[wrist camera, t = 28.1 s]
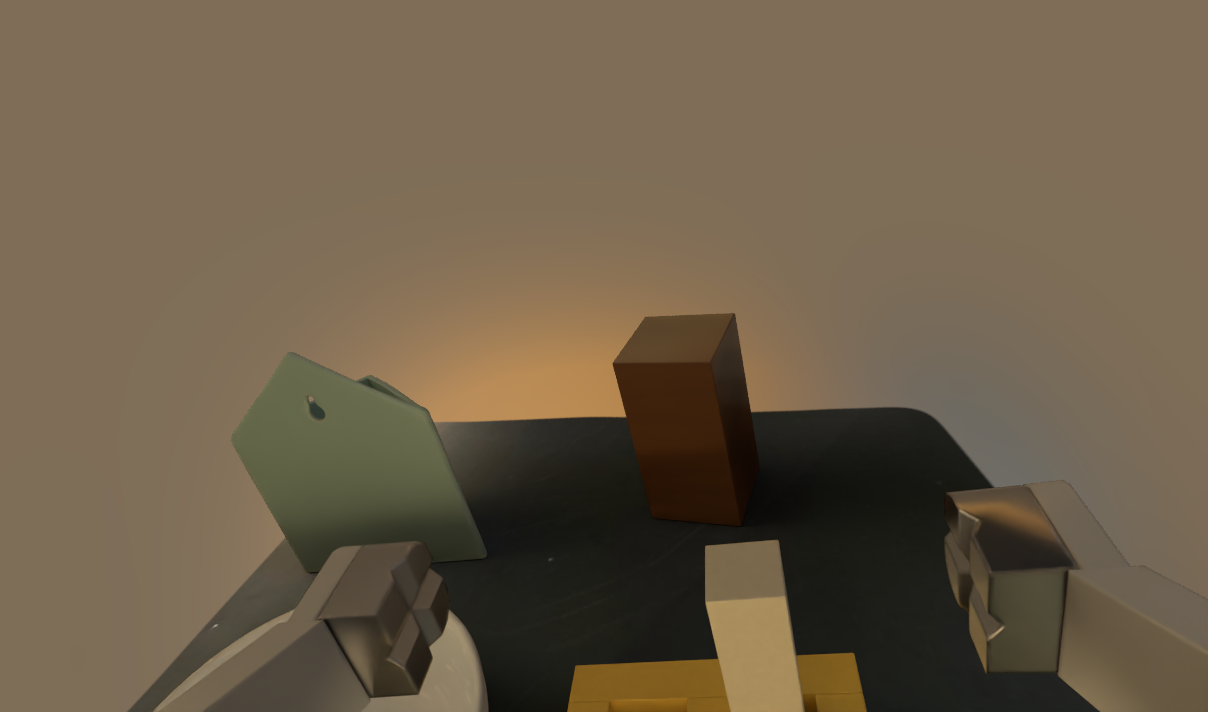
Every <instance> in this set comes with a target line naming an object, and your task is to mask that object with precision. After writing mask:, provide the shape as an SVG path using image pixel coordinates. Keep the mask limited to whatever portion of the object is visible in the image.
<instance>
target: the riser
mask: <svg viewBox="0 0 1208 712" xmlns="http://www.w3.org/2000/svg"><path fill="white" fill-rule="evenodd" d="M613 367H614V371H615V375H616V378H617V382H618V386H619V390H620V394H621V398H622V401H623V406H624V409H625V413H626V417H627V421H628V425H629V429H630V432H631V436H632V440H633V444H634V448H635V452H636V455H637V459H638V463H639V467H640V471H641V475H642V479H643V482H644V486H645V490H646V494H647V498H648V502H649V505H650V509H651V513H652V517H653V518H658V519H669V520H679V521H689V522H700V523H710V524H721V525H731V526H741V525H742V522H743V519H744V516H745V512H746V509H747V506H748V503H749V500H750V496H751V493H752V490H753V487H754V483H755V480H756V477H757V474H758V471H759V467H760V466H759V459H758V453H757V447H756V441H755V435H754V429H753V422H752V416H751V410H750V404H749V398H748V392H747V385H746V379H745V373H744V367H743V361H742V355H741V348H740V342H739V336H738V330H737V323H736V317H735V314H734V313H731V314H706V315H681V316H658V317H645V318H644V320H643V321H642V323H641V324H640V325H639V327H638V328H637V330H636V331H635V332H634V334H633V335H632V337H631V338H630V339H629V341H628V342H627V344H626V345H625V346H624V348H623V349H622V351H621V352H620V354H619V355H618V356H617V358H616V359H615V361H614V362H613Z"/></svg>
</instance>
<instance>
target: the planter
mask: <svg viewBox="0 0 1208 712" xmlns="http://www.w3.org/2000/svg"><path fill="white" fill-rule="evenodd" d="M309 396H311V397H313V399H314V401H311V402H309V399H308V397H309ZM231 441H232V444H233V446H234V447H235V449H236V451H237V453H238V455H239V457H240V459H241V461H242V463H243V464H244V466H245V468H246V470H247V471H248V473H249V475H250V476H251V478H252V480H253V482H254V483H255V485H256V487H257V489H258V490H259V492H260V494H261V495H262V497H263V499H264V501H265V502H266V504H267V506H268V508H269V509H270V511H271V513H272V514H273V516H274V518H275V520H276V521H277V523H278V525H279V526H280V528H281V530H282V532H283V533H284V535H285V537H286V539H287V540H288V542H289V544H290V545H291V547H292V549H293V551H294V552H295V554H296V556H297V558H298V559H299V561H300V563H301V564H302V566H303V568H304V570H305V571H306V572H320V570H321V569H322V567H323V566H324V564H325V563H326V561H327V560H328V558H329V557H330V555H331V554H332V552H333V551H335V550H337V549H338V548H340V547H344V546H360V545H367V544H381V543H396V542H412V541H419V542H423V543H426V545H427V547H428V549H429V550H430V552H431V554H432V556H433V560H432V563H435V562H447V561H460V560H472V559H483V558H485V557H486V556H487V551H486V548H485V546H484V543H483V541H482V538H481V536H480V534H479V531H478V529H477V526H476V524H475V521H474V519H473V516H472V514H471V512H470V509H469V507H468V504H467V502H466V499H465V497H464V495H463V492H462V490H461V487H460V485H459V482H458V480H457V478H456V475H455V473H454V470H453V468H452V465H451V463H450V460H449V458H448V456H447V453H446V451H445V448H444V446H443V443H442V441H441V439H440V436H439V434H438V431H437V429H436V427H435V424H434V422H433V420H432V418H431V415H430V413H429V411H428V410H427V409H426V408H424V407H422V406H420V405H418V404H416V403H415V402H414V401H412V400H411V399H409V398H408V397H407V396H405V395H404V394H402V393H401V392H399V391H398V390H397V389H395V388H394V387H392V386H390V385H389V384H388V383H386V382H384V381H382V380H380V379H378V378H376V377H374V376H372V375H369V376H366V377H364V378H362V379H359V380H357V381H355V380H352V379H350V378H348V377H346V376H343V375H341V374H339V373H337V372H335V371H333V370H331V369H328V368H326V367H324V366H321V365H319V364H317V363H315V362H313V361H311V360H308V359H306V358H304V357H302V356H300V355H298V354H296V353H292V352H288V353H287V354H286V355H285V356H284V357H283V359H282V360H281V362H280V363H279V365H278V367H277V368H276V370H275V372H274V374H273V375H272V377H271V378H270V380H269V381H268V383H267V384H266V386H265V387H264V389H263V390H262V392H261V393H260V395H259V396H258V397H257V399H256V400H255V402H254V403H253V405H252V406H251V408H250V409H249V410H248V412H247V414H246V415H245V417H244V418H243V420H242V421H241V423H240V424H239V426H238V427H237V428H236V430H235V431H234V432H233V434H232V438H231Z"/></svg>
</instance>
